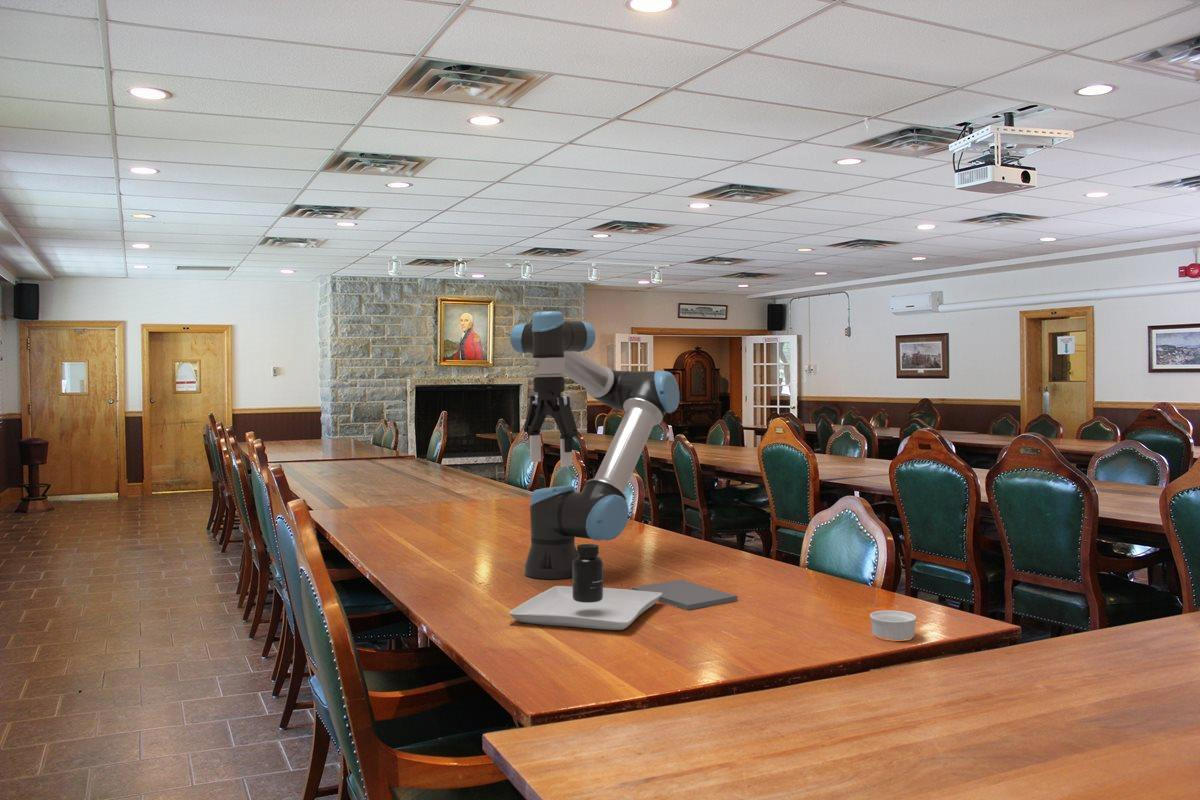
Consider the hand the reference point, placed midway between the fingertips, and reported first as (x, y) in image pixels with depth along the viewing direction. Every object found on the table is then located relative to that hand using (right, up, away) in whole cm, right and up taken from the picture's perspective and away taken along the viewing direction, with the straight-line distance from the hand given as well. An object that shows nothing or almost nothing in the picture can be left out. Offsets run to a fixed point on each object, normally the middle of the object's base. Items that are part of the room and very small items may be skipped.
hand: (550, 464), depth 220 cm
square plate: (+9, -33, -19) cm, 39 cm away
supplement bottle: (+9, -29, -18) cm, 36 cm away
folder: (+32, -31, -4) cm, 45 cm away
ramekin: (+71, -32, -38) cm, 86 cm away
